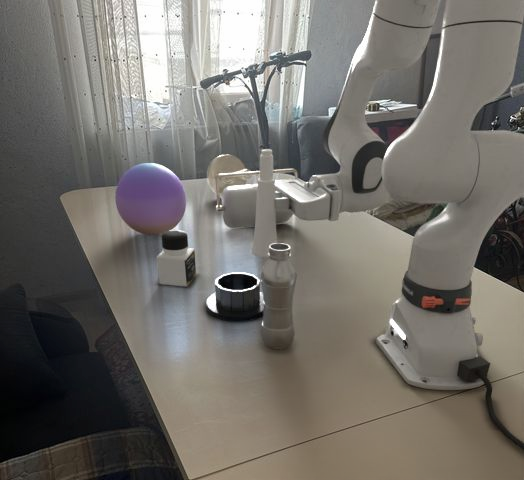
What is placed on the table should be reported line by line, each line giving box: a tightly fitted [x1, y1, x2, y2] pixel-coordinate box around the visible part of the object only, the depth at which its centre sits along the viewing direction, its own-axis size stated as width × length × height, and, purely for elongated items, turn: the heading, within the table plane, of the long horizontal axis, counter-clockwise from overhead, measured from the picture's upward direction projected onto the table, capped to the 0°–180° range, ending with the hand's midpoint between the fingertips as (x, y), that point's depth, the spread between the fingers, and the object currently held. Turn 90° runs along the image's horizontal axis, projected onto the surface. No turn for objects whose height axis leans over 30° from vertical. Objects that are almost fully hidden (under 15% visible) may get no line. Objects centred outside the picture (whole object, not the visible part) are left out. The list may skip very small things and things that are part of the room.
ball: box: [114, 162, 187, 237], centre depth 147 cm, size 20×20×20 cm
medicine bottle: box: [156, 229, 197, 288], centre depth 122 cm, size 7×7×12 cm
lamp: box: [206, 154, 299, 229], centre depth 167 cm, size 27×23×40 cm
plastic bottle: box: [259, 242, 298, 350], centre depth 95 cm, size 6×7×20 cm
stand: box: [205, 272, 264, 323], centre depth 112 cm, size 14×14×6 cm
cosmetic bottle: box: [251, 148, 278, 258], centre depth 110 cm, size 6×6×22 cm
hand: (263, 201), depth 110 cm, fingers closed on cosmetic bottle
